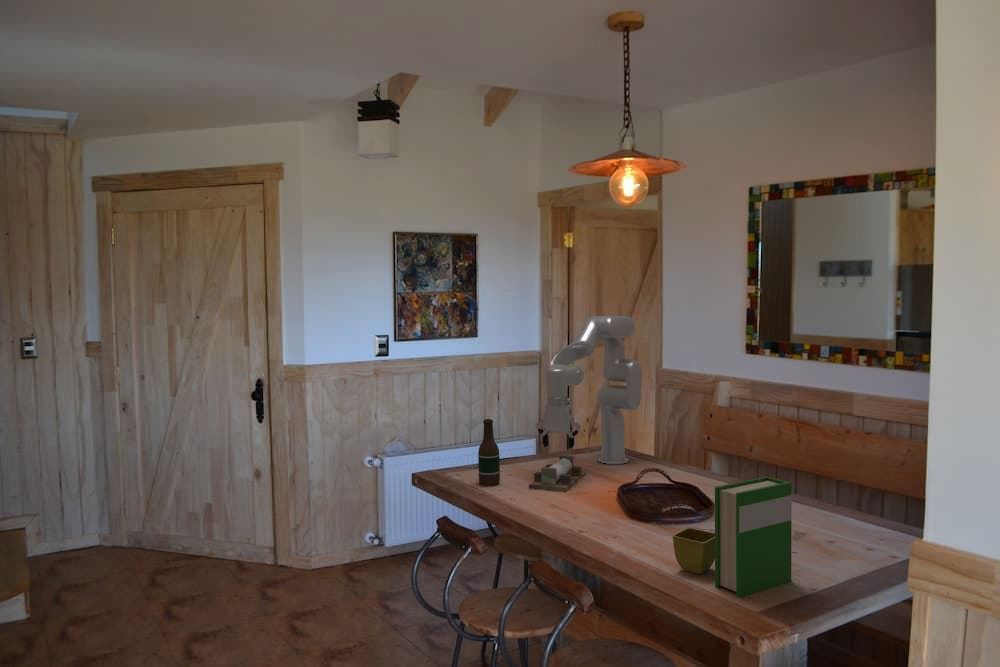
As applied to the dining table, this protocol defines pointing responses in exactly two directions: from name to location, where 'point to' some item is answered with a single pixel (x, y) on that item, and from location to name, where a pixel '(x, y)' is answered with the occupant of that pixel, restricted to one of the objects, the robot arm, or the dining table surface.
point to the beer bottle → (488, 457)
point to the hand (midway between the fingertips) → (558, 447)
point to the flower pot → (694, 549)
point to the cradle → (549, 477)
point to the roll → (562, 467)
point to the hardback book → (753, 535)
